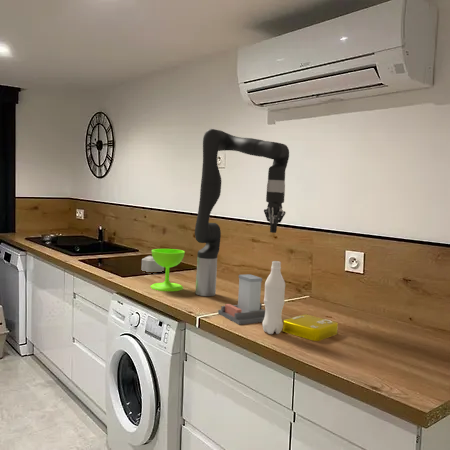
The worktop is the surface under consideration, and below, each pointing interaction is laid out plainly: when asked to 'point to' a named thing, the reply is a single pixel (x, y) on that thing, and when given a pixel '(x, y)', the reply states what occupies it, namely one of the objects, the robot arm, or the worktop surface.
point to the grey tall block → (249, 293)
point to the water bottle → (274, 300)
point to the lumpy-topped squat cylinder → (151, 265)
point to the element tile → (310, 327)
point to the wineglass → (167, 267)
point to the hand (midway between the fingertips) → (273, 232)
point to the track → (241, 314)
